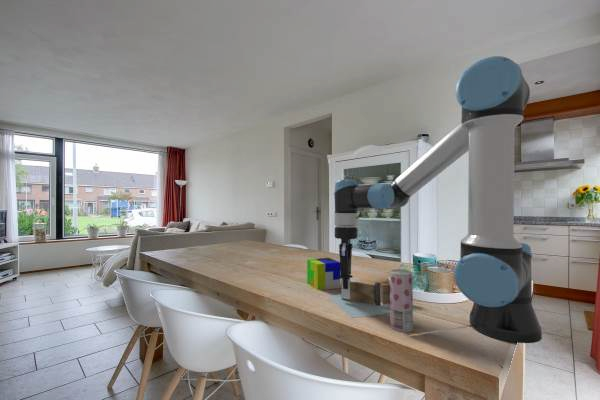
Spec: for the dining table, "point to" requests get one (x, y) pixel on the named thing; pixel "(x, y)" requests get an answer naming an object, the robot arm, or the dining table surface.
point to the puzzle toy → (323, 273)
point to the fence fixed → (385, 293)
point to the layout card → (360, 307)
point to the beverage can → (401, 300)
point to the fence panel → (365, 292)
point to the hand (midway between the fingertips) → (345, 298)
